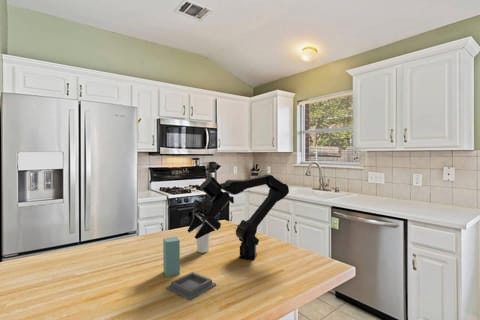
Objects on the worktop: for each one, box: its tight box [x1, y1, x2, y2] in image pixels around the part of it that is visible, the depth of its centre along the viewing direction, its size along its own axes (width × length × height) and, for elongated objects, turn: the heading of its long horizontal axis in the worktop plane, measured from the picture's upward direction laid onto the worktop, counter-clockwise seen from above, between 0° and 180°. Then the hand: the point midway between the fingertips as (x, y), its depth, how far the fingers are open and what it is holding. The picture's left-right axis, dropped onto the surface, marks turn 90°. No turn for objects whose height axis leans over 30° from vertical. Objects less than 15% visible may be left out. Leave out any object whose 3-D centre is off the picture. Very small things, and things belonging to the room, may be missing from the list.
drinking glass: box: [195, 224, 211, 254], centre depth 125 cm, size 7×7×15 cm
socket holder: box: [165, 271, 217, 301], centre depth 92 cm, size 12×12×2 cm
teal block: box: [162, 236, 181, 278], centre depth 103 cm, size 5×5×13 cm
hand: (191, 234), depth 107 cm, fingers open, 9 cm apart
